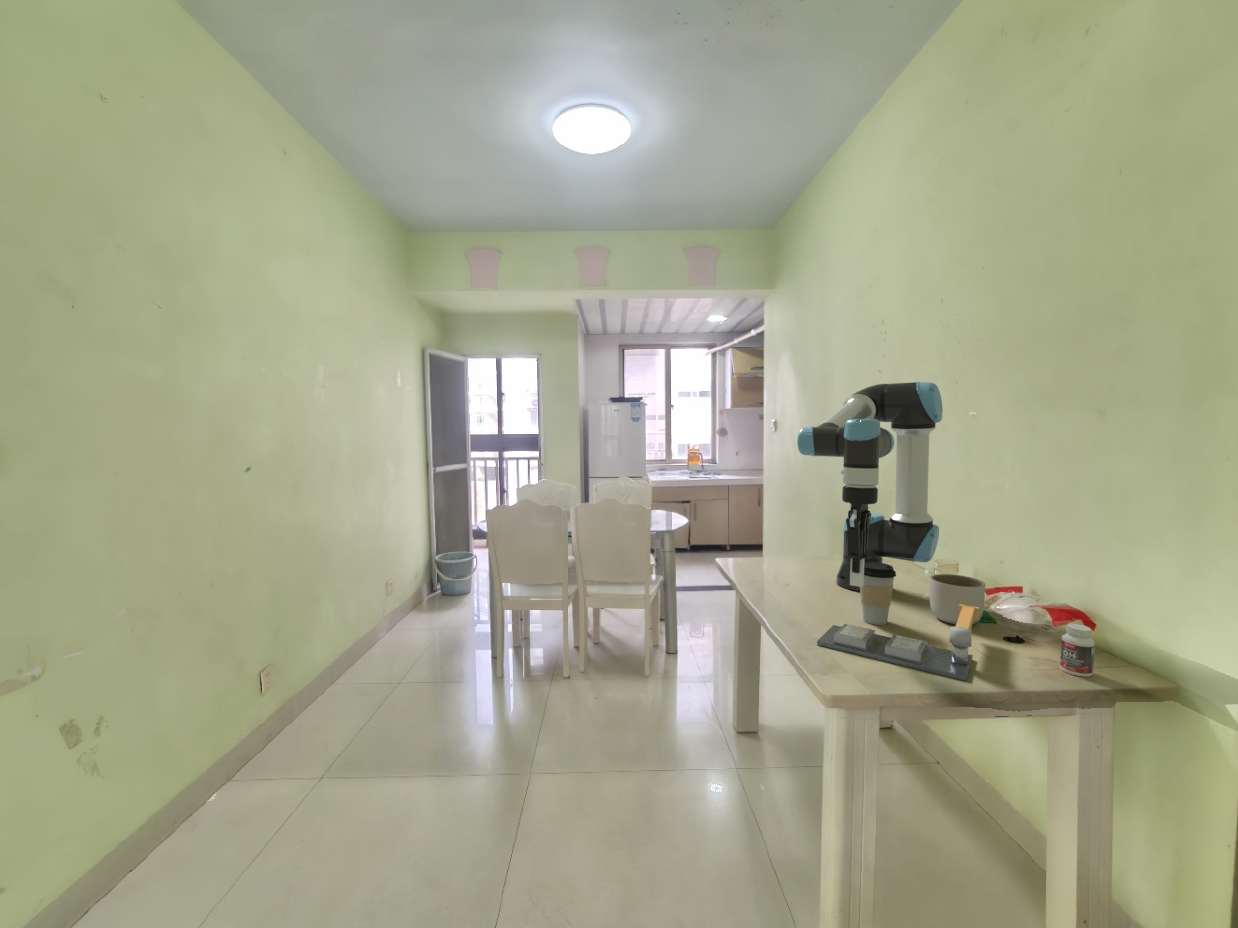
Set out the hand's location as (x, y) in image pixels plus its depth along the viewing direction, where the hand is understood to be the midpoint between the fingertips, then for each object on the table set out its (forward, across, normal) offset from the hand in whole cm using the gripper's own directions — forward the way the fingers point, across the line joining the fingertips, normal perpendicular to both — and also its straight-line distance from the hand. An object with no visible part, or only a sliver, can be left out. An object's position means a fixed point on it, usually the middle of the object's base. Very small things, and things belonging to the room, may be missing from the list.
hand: (856, 585), depth 128 cm
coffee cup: (+15, -20, 0) cm, 25 cm away
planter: (+15, -34, +17) cm, 41 cm away
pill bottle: (+15, -14, +41) cm, 46 cm away
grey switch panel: (+14, -1, +8) cm, 17 cm away
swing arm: (+9, -11, +21) cm, 25 cm away
